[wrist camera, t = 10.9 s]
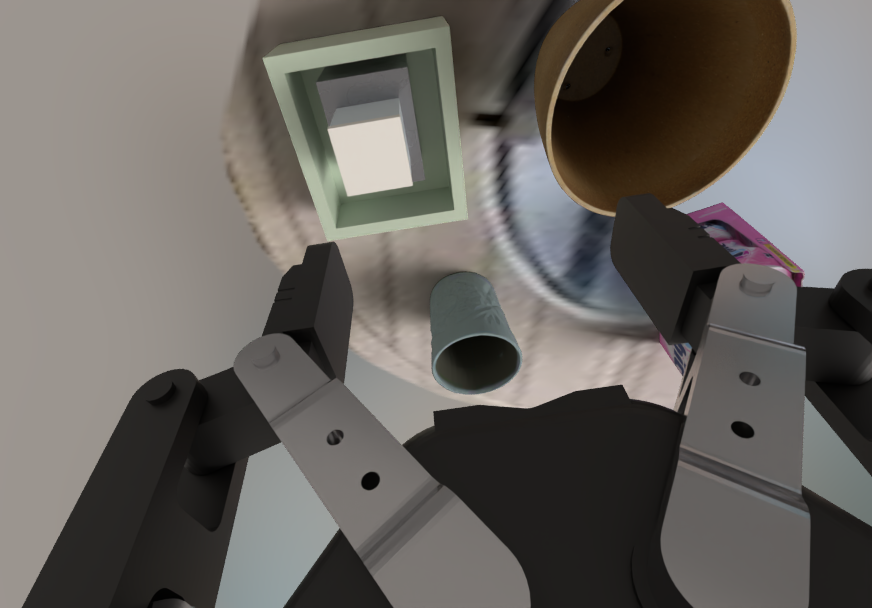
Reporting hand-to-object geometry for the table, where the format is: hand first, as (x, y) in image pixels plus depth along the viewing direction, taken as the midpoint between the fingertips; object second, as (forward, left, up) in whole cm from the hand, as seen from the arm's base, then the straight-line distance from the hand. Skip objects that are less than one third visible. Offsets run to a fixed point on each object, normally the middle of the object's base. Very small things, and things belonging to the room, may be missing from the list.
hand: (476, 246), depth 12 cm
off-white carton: (+5, +4, -25) cm, 26 cm away
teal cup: (-1, +29, -32) cm, 43 cm away
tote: (+5, +6, -32) cm, 33 cm away
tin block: (+5, +4, -31) cm, 32 cm away
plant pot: (-14, +3, -32) cm, 35 cm away
